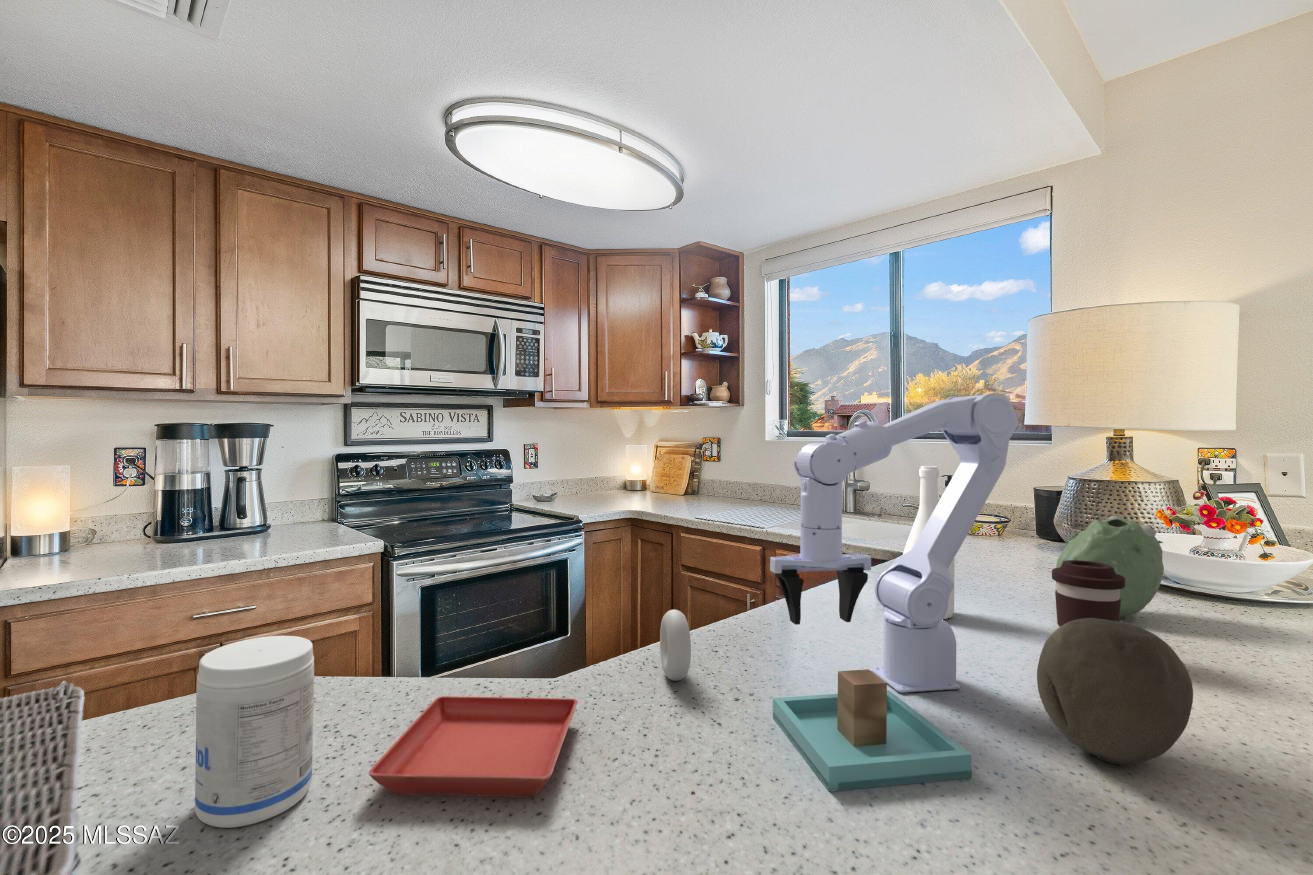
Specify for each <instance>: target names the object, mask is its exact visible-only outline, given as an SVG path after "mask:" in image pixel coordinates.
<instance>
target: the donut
mask: <svg viewBox="0 0 1313 875" xmlns="http://www.w3.org/2000/svg"><path fill="white" fill-rule="evenodd" d="M688 622H689V621H688V620H687V618H686V615H685V614H684V613H683V612H682V611H680V610H678V609H674V608H673V609H670V610H668V611H666V612H665V614H664V615H663V616H662V618H661V622H660V630H659V650H660V652H659V653H660V661H661V666H662V670H663V673H664V674H665V676H666V677H667V678H668V679H669V680H671V681H673V682H674V681H675V682H677V681H678V682H679V681H681V680H682V679H685V677H686V676H687V675H688V674H689V670H690V667H691V661H692V660H691V657H692V643H691V642H692V641H691V631H690V627H689V623H688Z"/></svg>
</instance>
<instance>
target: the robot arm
mask: <svg viewBox="0 0 1313 875" xmlns="http://www.w3.org/2000/svg"><path fill="white" fill-rule="evenodd" d="M1018 425H1019V420H1018V418H1017V415H1016V412H1015V408H1014V407H1013V404H1012V402H1011V400H1010V399H1009V398H1008V397H1007V396H1005V395H1003V394H1002V393H998V392H990V393H985V394H980V395H979V394H978V395H977V394H976V395H969V396H967V395H965V396H958V395H957V396H949V397H947V398H945V399H941V400H937V401H933V402H931V403H929V404H926V405H925V406H922V407H921V408H918V409H915V410H914V411H911V412H910V413H907V414H905V415H902V416H901V417H898V418H897V419H894V420H892V421H890V422H887V423H885V424H883V425H882V424H880V423H877V422H875V421H869V422H867V421H866V420H860V421H856V422H854V424H853V426H854V427H853V428H851V429H849V430H846V431H844V432H841V433H838V434H835V433H830V434H828V435H826V436H825V440H824V442H810V443H808V444H805V445H804V446H803V447H802V448H801V450H799V452H798V454H797V456H796V460H794V461H793V467H794V471H795V472H796V474H797V476H798V477H799V478H800V546H799V548H800V550H799V551H800V553H799V554H791V555H783V556H770V557H769V561H770V562H769V570H770V572H772V573H774V574H775V578H776V580H777V582H778V584H779V586H780V588H781V591H782V593H783V596H784V599H785V602H786V606H787V607H786V608H787V611H788V615H789V616H788V617H789V621H790V622H791V623H793V625H796V626H797V625H801V621H802V620H801V619H802V617H801V615H802V612H801V609H802V607H801V606H802V605H801V601H802V600H801V598H802V594H803V592H802V591H803V587H804V581H805V580H804V579H803V578H801V577H800V573H798V572H820V571H821V572H823V571H824V572H825V571H831V572H832V571H836V577H837V584H838V592H839V596H838V597H839V599H838V602H839V603H838V605H839V606H838V614H839V619H840V620H842V621H843V622H845V623H850V622H851V621H852V618H853V615H854V614H853V613H854V609H855V606H856V604H857V601H858V599H859V596H860V594H861V592H862V590H863V589H864V586H865V585H866V584H867V583H868V580H869V575H868V573H867V572H865V571H872V556H869V555H866V554H849V553H845V554H844V553H842V552H843V551H842V550H843V549H842V548H843V544H842V543H843V542H842V541H843V538H842V536H843V532H842V531H843V529H842V527H843V482H844V481H845V480H847V477H849V475H850V474H851V473H853V472H855V471H858V470H861V469H863V468H866V467H867V466H870V465H872V464H875V463H877V462H879V461H882V460H884V459H887V458H888V457H889V456H890V455H891V452H892V448H893V447H894V446H897V445H898V444H901V443H905V442H907V441H909V440H913V439H916V438H919V437H921V436H924V435H926V434H929V433H931V432H935V431H941V432H942V433H943V435H944V437H945V438H946V439H947V441H948V442H949V444H950V445H951V447H952V448H953V449H954V451H955V452H956V454H957V455H958V458H959V460H960V464H959V465H958V468H957V469H956V471H955V472H954V475H953V476H952V478H951V480H950V481H949V483H948V485H947V487H946V488H945V490H944V492H943V493H942V495H941V497H940V499H939V500H938V504H937V506H936V508H935V509H934V511H933V513H932V515H931V516H930V518H929V520H928V522H927V524H926V525H925V527H924V529H923V531H922V532H921V534H920V536H919V538H918V539H917V541H916V543H915V545H914V546H913V548H912V550H911V551H909V552H907V553H905V554H902V555H899V556H898V557H896V558H895V560H894V561H893V563H892V564H891V566H890V567H888V568H887V569H886V570H885V571H882V573H880V575H878V577H877V579H876V581H875V585H874V594H875V597H876V599H877V601H878V604H880V605H881V606H882V614H883V646H882V647H883V649H882V650H883V652H882V654H883V657H882V659H883V661H882V662H883V665H882V666H883V667H880V666H879V667H872V668H871V670H870V671H872V672H873V673H874V674H876V675H877V676H878V677H880V678H881V679H882V680H884V681H885V682H886V683H887V685H889V686H890V687H892V689H894V690H895V691H897V692H899V693H916V692H927V691H929V692H930V691H944V690H957V689H958V690H959V689H960V688H961V686H960V684H959V683H957V640H956V635H955V632H954V629H953V628H952V627H951V625H950V624H949V623H948V622H947V621H946V620H942V619H943V618H944V616H945V615H946V612H947V609H948V601H949V596H950V593H951V591H952V589H953V587H954V588H955V583H954V584H953V581H952V579H951V577H950V574H949V572H948V568H949V566H950V565H951V563H952V561H953V559H955V557H956V556H957V554H958V552H959V550H960V548H961V547H962V545H963V543H964V541H965V540H966V538H967V535H969V532H970V531H971V529H972V527H973V525H974V523H975V521H976V519H977V518H978V517H979V515H980V513H981V510H982V509H983V507H984V506H985V504H986V502H987V501H988V499H989V496H990V495H991V493H992V492H993V490H994V487H995V486H996V484H997V482H998V480H999V479H1000V477H1001V475H1002V474H1003V471H1004V470H1005V467H1006V464H1007V457H1008V450H1009V444H1010V439H1011V438H1012V436H1013V434H1014V433H1015V431H1016V429H1017V427H1018Z"/></svg>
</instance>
